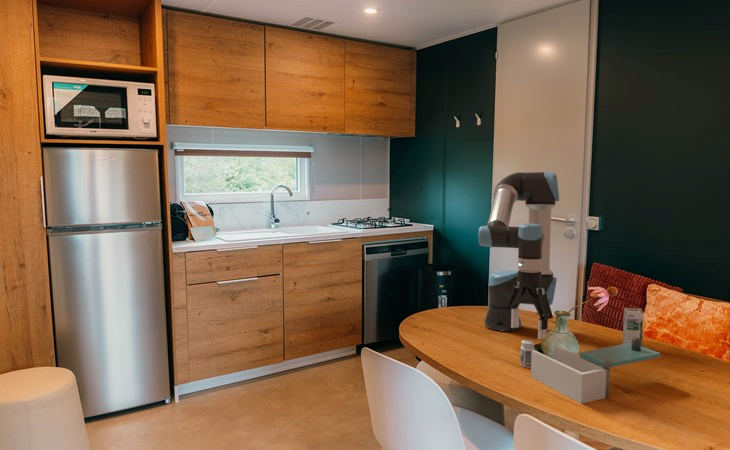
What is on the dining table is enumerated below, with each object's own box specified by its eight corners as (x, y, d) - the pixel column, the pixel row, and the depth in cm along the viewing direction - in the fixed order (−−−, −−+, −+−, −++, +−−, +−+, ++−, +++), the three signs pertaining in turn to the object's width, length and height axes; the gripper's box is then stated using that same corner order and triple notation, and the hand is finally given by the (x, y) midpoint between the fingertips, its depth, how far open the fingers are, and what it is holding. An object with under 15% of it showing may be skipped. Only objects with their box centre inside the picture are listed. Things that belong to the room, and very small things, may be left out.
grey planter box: (557, 371, 171) (557, 345, 170) (610, 397, 151) (611, 369, 150) (530, 376, 167) (531, 350, 166) (581, 404, 147) (582, 375, 146)
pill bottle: (537, 365, 176) (537, 341, 175) (531, 369, 173) (531, 344, 172) (523, 361, 179) (524, 338, 178) (517, 365, 176) (518, 341, 175)
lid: (662, 357, 157) (663, 342, 157) (606, 369, 149) (607, 353, 148) (631, 346, 167) (631, 332, 167) (577, 356, 159) (578, 341, 158)
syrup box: (624, 349, 190) (626, 311, 188) (622, 344, 195) (623, 306, 193) (642, 351, 188) (643, 312, 186) (639, 346, 193) (641, 308, 192)
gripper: (497, 265, 183) (496, 324, 185) (546, 278, 159) (545, 345, 162) (514, 263, 185) (513, 321, 187) (565, 276, 162) (563, 342, 164)
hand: (528, 332), depth 174 cm, fingers open, 13 cm apart
